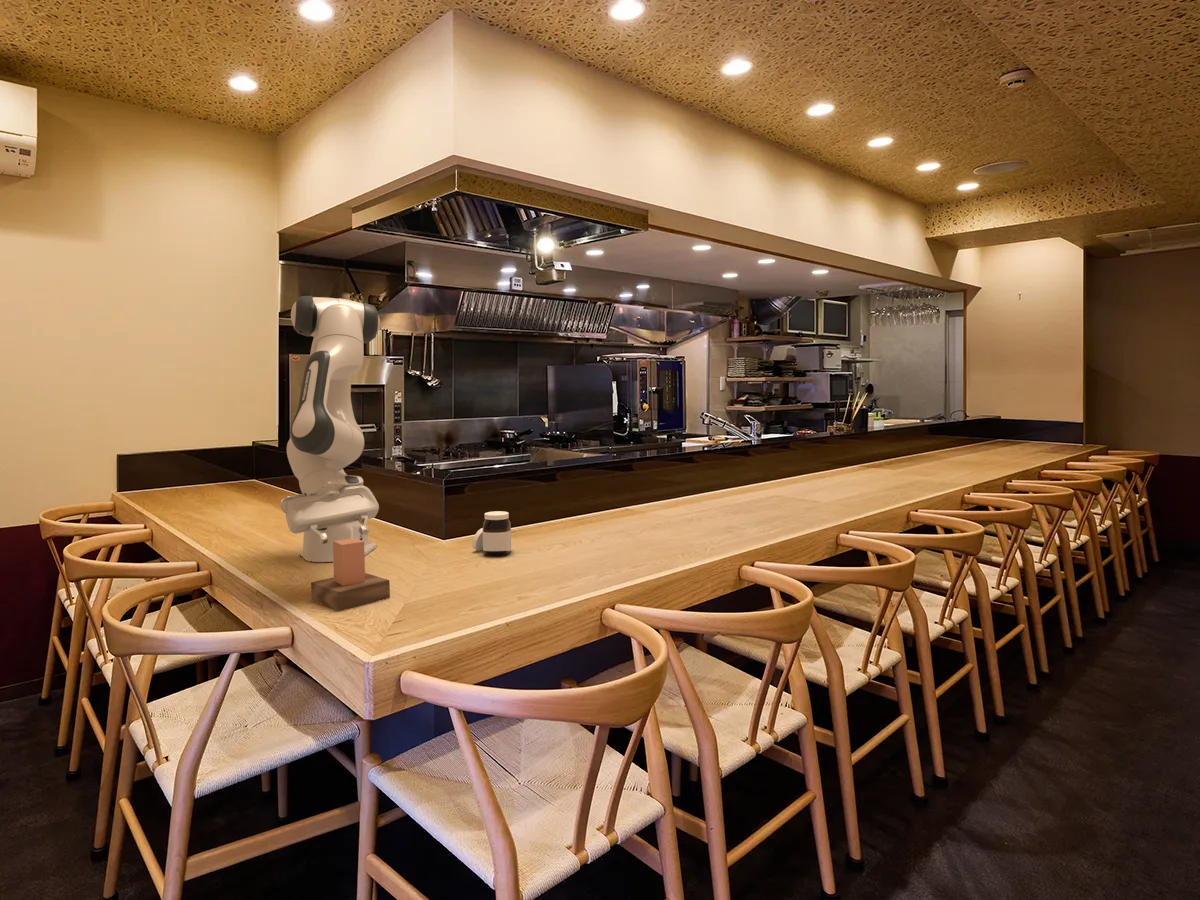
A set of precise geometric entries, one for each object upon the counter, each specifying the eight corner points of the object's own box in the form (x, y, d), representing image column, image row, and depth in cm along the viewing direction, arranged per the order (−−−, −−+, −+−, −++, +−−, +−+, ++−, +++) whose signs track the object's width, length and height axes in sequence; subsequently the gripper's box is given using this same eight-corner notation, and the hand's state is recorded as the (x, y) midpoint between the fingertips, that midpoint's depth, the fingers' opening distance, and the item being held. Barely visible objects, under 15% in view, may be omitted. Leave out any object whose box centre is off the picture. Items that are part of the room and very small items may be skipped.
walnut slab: (311, 602, 153) (311, 582, 153) (361, 590, 162) (360, 571, 162) (340, 613, 145) (339, 592, 145) (390, 599, 155) (389, 580, 154)
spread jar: (508, 557, 192) (507, 516, 191) (467, 557, 192) (466, 516, 191) (514, 548, 204) (513, 509, 203) (476, 548, 204) (475, 509, 203)
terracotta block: (334, 581, 153) (332, 541, 153) (356, 577, 157) (355, 538, 156) (342, 585, 150) (341, 544, 149) (365, 581, 153) (364, 541, 152)
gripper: (279, 489, 152) (300, 539, 147) (368, 475, 166) (390, 520, 160) (274, 506, 156) (295, 556, 150) (361, 491, 170) (383, 536, 164)
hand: (345, 537), depth 156 cm, fingers open, 8 cm apart
